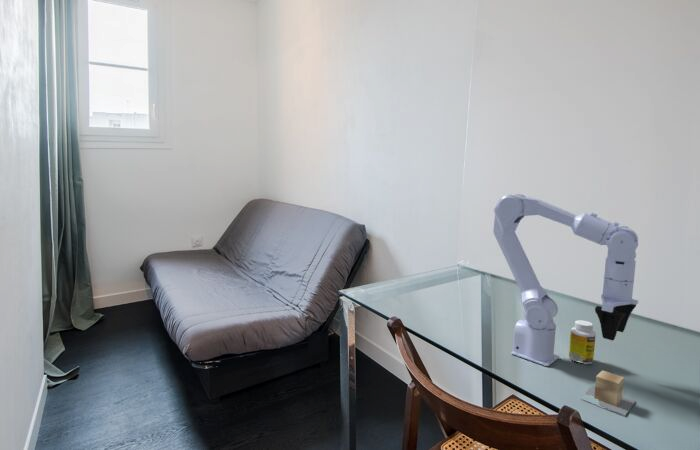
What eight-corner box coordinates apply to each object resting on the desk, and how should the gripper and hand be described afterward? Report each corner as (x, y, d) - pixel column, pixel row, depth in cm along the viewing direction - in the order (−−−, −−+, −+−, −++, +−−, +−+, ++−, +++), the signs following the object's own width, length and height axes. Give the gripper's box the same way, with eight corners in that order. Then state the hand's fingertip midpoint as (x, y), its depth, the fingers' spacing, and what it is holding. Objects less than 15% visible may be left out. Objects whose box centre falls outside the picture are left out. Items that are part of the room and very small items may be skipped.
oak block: (594, 398, 82) (596, 376, 82) (600, 391, 85) (602, 370, 84) (616, 406, 79) (618, 383, 79) (621, 399, 82) (624, 377, 81)
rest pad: (580, 399, 82) (580, 397, 82) (592, 386, 87) (592, 385, 87) (625, 416, 76) (625, 415, 76) (635, 401, 81) (635, 400, 81)
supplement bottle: (586, 367, 97) (590, 328, 95) (564, 358, 101) (567, 321, 100) (597, 362, 100) (600, 324, 99) (575, 353, 104) (578, 317, 103)
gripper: (631, 287, 82) (624, 348, 83) (647, 277, 91) (641, 332, 93) (593, 281, 87) (588, 338, 89) (612, 271, 97) (607, 323, 98)
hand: (613, 334), depth 91 cm, fingers open, 7 cm apart
